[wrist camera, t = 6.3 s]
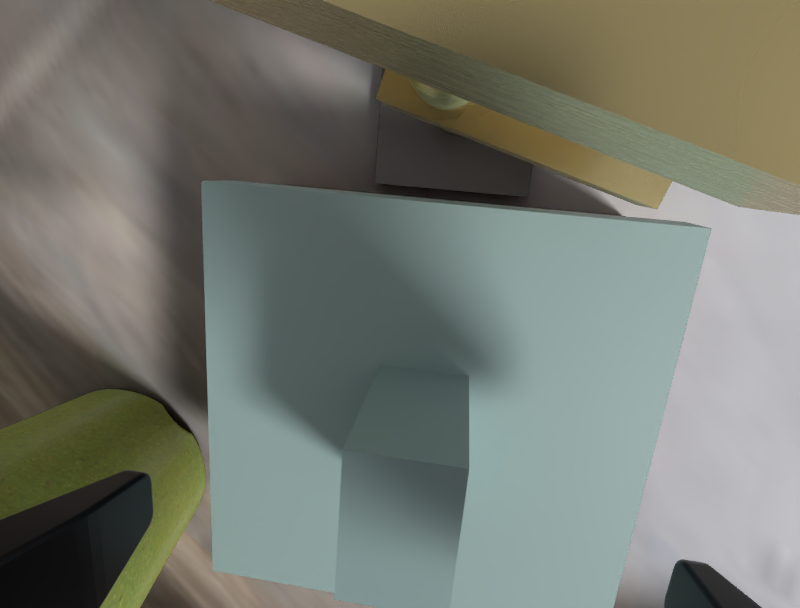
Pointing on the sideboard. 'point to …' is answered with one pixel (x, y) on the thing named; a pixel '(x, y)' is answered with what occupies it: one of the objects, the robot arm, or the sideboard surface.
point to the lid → (435, 392)
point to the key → (590, 84)
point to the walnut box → (443, 160)
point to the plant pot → (107, 470)
